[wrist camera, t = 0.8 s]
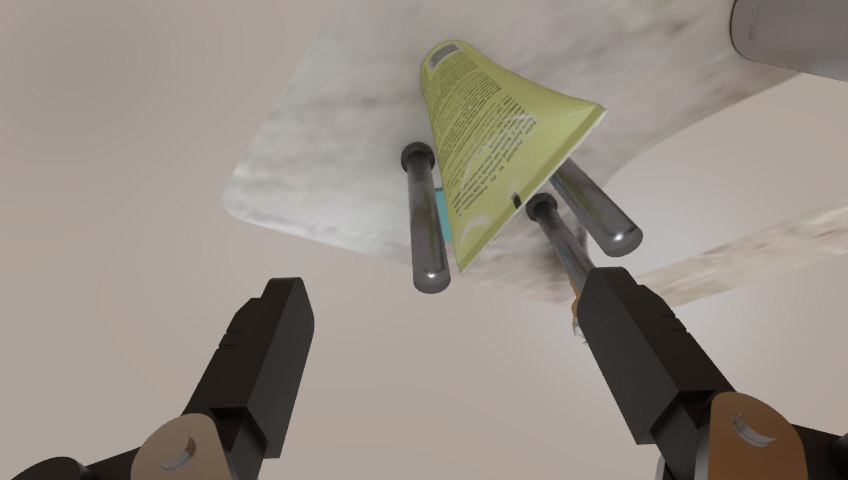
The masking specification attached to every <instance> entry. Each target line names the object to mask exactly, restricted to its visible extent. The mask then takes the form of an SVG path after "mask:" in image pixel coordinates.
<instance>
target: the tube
mask: <svg viewBox="0 0 848 480" xmlns="http://www.w3.org/2000/svg"><path fill="white" fill-rule="evenodd" d="M421 82H422V88H423V92H424V97H425V101H426V105H427V110H428V115H429V119H430V124H431V129H432V134H433V139H434V144H435V149H436V154H437V159H438V164H439V170H440V175H441V180H442V186H443V191H444V196H445V202H446V207H447V213H448V219H449V225H450V230H451V236H452V241H453V246H454V252H455V257H456V262H457V265H458V268H459V271H460V274H461V275H463V274H464V273H465V272H466V270H467V269H468V268H469V267H470V266H471V265H472V264H473V262H474V261H475V260H476V259H477V258H478V257H479V256H480V254H481V253H482V252H483V251H484V250H485V249H486V248H487V246H488V245H489V244H490V243H491V242H492V241H493V240H494V239H495V238H496V237H497V235H498V234H499V233H500V232H501V231H502V230H503V229H504V228H505V227H506V226H507V224H508V223H509V222H510V221H511V220H512V219H513V217H514V216H515V215H516V214H517V213H518V212H519V211H520V210H521V208H522V207H523V206H524V205H525V204H526V203H527V202H528V201H529V200H530V199H531V198H532V197H533V195H534V194H535V193H536V192H537V191H538V190H539V189H540V188H541V187H542V186H543V185H544V183H545V182H546V181H547V180H548V179H549V178H550V177H551V176H552V175H553V174H554V172H555V171H556V170H557V169H558V168H559V167H560V166H561V165H562V164H563V163H564V162H565V161H566V159H567V158H568V157H569V156H570V155H571V154H572V153H573V152H574V151H575V150H576V149H577V148H578V147H579V146H580V145H581V143H582V142H583V141H584V140H585V139H586V138H587V137H588V135H589V134H590V133H591V132H592V131H593V130H594V129H595V128H596V127H597V126H598V124H599V123H600V122H601V121H602V120H603V119H604V117H605V116H606V115H607V112H608V111H607V110H606V109H605V108H604V107H602V106H601V105H599V104H597V103H594V102H590V101H586V100H582V99H578V98H574V97H570V96H567V95H564V94H561V93H558V92H556V91H553V90H551V89H548V88H546V87H543V86H541V85H539V84H536V83H534V82H532V81H529V80H527V79H525V78H523V77H521V76H519V75H517V74H515V73H513V72H511V71H509V70H507V69H505V68H503V67H502V66H500V65H498V64H496V63H495V62H493V61H491V60H490V59H488V58H487V57H485V56H484V55H483V54H481V53H480V52H479V51H477V50H476V49H475V48H473V47H472V46H470V45H469V44H467V43H464V42H461V41H447V42H444V43H442V44H440V45H438V46H437V47H435V48H434V49H433V50H432V51H431V52H430V53H429V55H428V56H427V57H426V59H425V61H424V64H423V67H422V71H421Z"/></svg>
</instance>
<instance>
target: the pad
mask: <svg viewBox="0 0 848 480" xmlns="http://www.w3.org/2000/svg"><path fill="white" fill-rule="evenodd" d="M435 194H436V200H437V205H438V211H439V216H440V222H441V228H442V233H443V239H444V242H447V241H451V240H452V236H451V230H450V225H449V219H448V213H447V207H446V202H445V196H444V191H443V188H440V189H436V190H435Z"/></svg>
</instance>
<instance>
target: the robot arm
mask: <svg viewBox="0 0 848 480" xmlns="http://www.w3.org/2000/svg"><path fill="white" fill-rule="evenodd" d="M731 30H732V39H733V42H734V45H735V47H736V49H737V50H738V51H739V53H740V54H741V55H743V56H744V57H746V58H747V59H749V60H753V61H757V62H761V63H766V64H770V65H774V66H779V67H783V68H787V69H792V70H796V71H799V72H804V73H809V74H813V75H818V76H822V77H827V78H831V79H836V80H840V81H845V82H848V0H737V2H736V4H735V7H734V11H733V17H732V22H731ZM577 321H578V324H579V327H580V329H581V331H582V333H583V335H584V337H585V339H586V341H587V343H588V345H589V347H590V349H591V351H592V353H593V356H594V358H595V360H596V362H597V363H598V366H599V368H600V370H601V372H602V374H603V376H604V378H605V380H606V382H607V384H608V386H609V388H610V390H611V392H612V394H613V396H614V399H615V401H616V402H617V405H618V407H619V409H620V411H621V413H622V415H623V417H624V419H625V421H626V423H627V425H628V427H629V429H630V431H631V433H632V435H633V438H634V440H635V442H636V444H637V445H641V444H656V445H657V447H658V448H659V450H660V452H661V454H662V455H661V456H660V458H659V460H658V464H657V470H656V476H655V480H848V433H847V434H845V435H844V436H838V435H833V434H830V433H826V432H822V431H818V430H814V429H810V428H806V427H802V426H798V425H794V424H790V423H789V422H788V421H787V420H786V419H785V418H784V417H783V416H782V415H781V414H780V413H778V412H777V411H776V410H775V409H773V408H772V407H770V406H769V405H767V404H765V403H764V402H762V401H760V400H758V399H756V398H754V397H752V396H749V395H746V394H742V393H738V392H737V391H735V389H734V388H733V387H732V386H731V384H730V383H729V382H728V381H727V379H726V378H725V377H724V376H723V374H722V373H721V372H720V371H719V369H718V368H717V367H716V366H715V364H714V363H713V362H712V360H711V359H710V358H709V357H708V355H707V354H706V353H705V352H704V350H703V349H702V348H701V347H700V345H699V344H698V343H697V342H696V340H695V339H694V338H693V337H692V335H691V334H690V333H687V331H686V328H685V326H684V325H683V324H682V323H681V322H680V320H679V319H678V318H676V317H675V314H674V313H673V311H672V310H671V309H670V307H669V306H668V305H667V304H666V302H665V301H664V300H663V299H662V298H661V297H660V296H658V295H657V294H656V293H654V292H653V291H651V290H650V289H649V288H647V287H646V286H645V285H638V284H637V283H636V282H635V280H634V279H633V278H632V276H631V275H630V274H629V272H628V271H627V270H626V269H625V268H623V267H598V268H592V269H591V270H590V271H589V274H588V276H587V279H586V282H585V285H584V287H583V290H582V293H581V296H580V299H579V301H578V304H577ZM226 331H227V333H226V334H224V336H223V338H222V340H221V342H220V344H219V348H218V349H217V350H216V351H215V353H214V355H213V357H212V359H211V361H210V363H209V365H208V366H207V368H206V370H205V372H204V374H203V376H202V378H201V380H200V382H199V384H198V385H197V388H196V389H195V391H194V393H193V395H192V397H191V399H190V401H189V403H188V404H187V406H186V408H185V410H184V411H183V413H182V414H181V416H180V417H177V418H175V419H173V420H171V421H169V422H167V423H166V424H164V425H163V426H161V427H160V428H159V429H158V430H156V431H155V432H154V433H153V434H152V435H151V436H150V437H149V438H148V439H147V440H146V441H145V442H144V444H143V445H142V446H141V447H138V448H136V449H133V450H131V451H128V452H125V453H122V454H119V455H116V456H114V457H111V458H108V459H105V460H102V461H99V462H97V463H94V464H91V465H88V466H83V465H82V464H80V463H79V462H77V461H76V460H74V459H72V458H69V457H55V458H51V459H48V460H44V461H42V462H40V463H37V464H35V465H33V466H31V467H29V468H28V469H26V470H24V471H23V472H21V473H20V474H18V475H17V476H16V477H14V478H13V479H12V480H258V474H259V471H260V468H261V465H262V461H263V459H268V458H280V455H281V451H282V447H283V444H284V440H285V436H286V433H287V429H288V425H289V422H290V418H291V414H292V411H293V407H294V403H295V400H296V396H297V392H298V389H299V385H300V382H301V378H302V374H303V371H304V367H305V363H306V360H307V356H308V352H309V349H310V345H311V341H312V338H313V333H314V315H313V311H312V308H311V305H310V302H309V298H308V295H307V292H306V289H305V286H304V283H303V280H302V279H301V278H300V277H292V278H272V279H270V280H269V282H268V283H267V285H266V287H265V290H264V292H263V294H262V296H261V298H251V299H250V300H249V301H248V302H247V303H246V304H245V305H244V306H242V307H241V308H240V309H239V310H238V311H237V312H236V314H235V315H234V317H233V319H232V321H231V323H230V325H229V327H228V328H227V330H226Z"/></svg>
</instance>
